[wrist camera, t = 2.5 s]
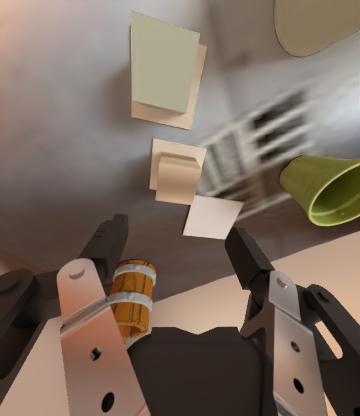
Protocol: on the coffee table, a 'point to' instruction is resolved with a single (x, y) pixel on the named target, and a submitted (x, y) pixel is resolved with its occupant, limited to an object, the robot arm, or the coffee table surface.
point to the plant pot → (324, 188)
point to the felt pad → (211, 217)
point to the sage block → (162, 63)
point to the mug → (132, 297)
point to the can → (314, 23)
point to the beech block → (177, 178)
